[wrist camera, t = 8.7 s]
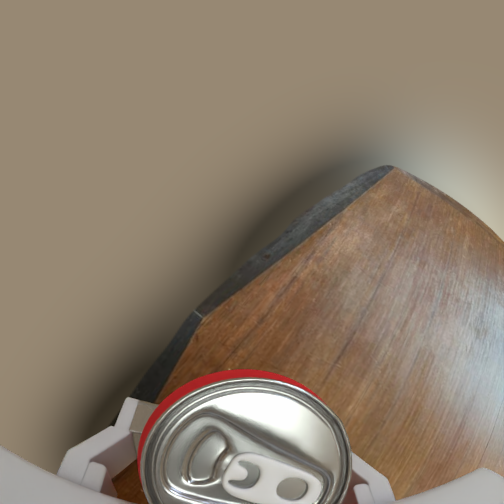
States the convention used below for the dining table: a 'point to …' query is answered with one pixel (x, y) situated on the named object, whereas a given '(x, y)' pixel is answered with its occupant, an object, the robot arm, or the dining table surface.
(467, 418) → the dining table surface
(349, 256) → the dining table surface
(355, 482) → the robot arm
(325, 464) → the beverage can
